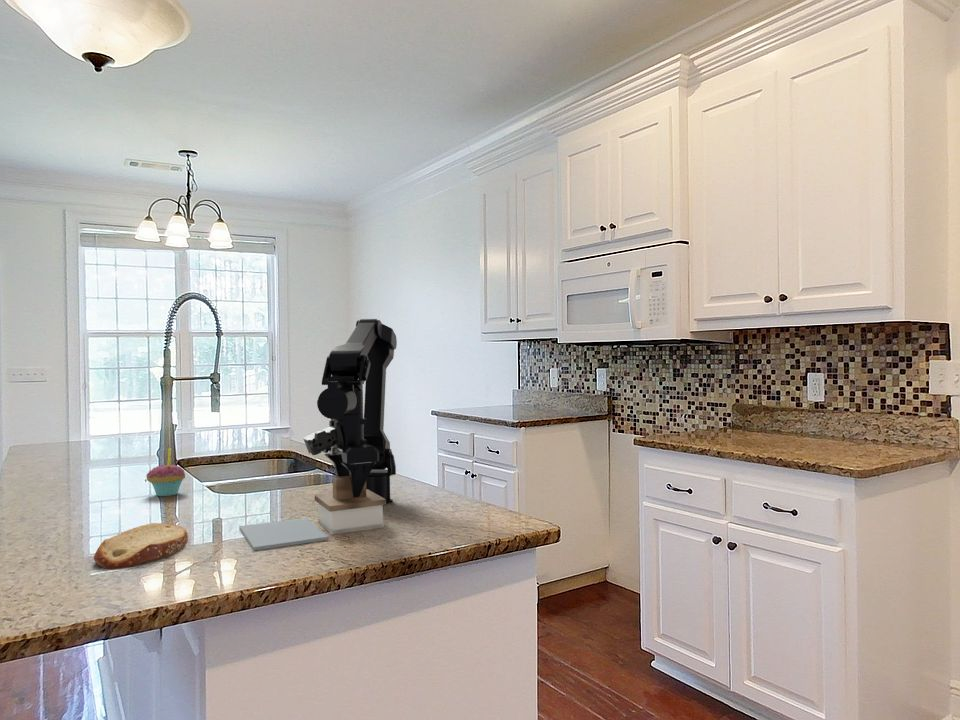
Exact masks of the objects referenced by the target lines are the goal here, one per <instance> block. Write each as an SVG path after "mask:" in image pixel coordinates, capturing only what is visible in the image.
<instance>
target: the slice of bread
mask: <svg viewBox="0 0 960 720" xmlns="http://www.w3.org/2000/svg"><path fill="white" fill-rule="evenodd" d="M188 541H189V536H188V531H187V530H186V528H183V527H182V526H180V525H176V524H171V523H170V524H169V523H163V522H159V523H157V522H151V523H147V524H144V525H143V524H142V525H139V526H136V527H133V528H131V529H130V528H129V529H127V530H125V531H122V532H121V533H118V534H117V535H113V536H112V537H110V538H105V539H104V540H102V542H100V544H99V546H98V548H97V549H96V552H95V553H94V555H93V561H94V562H95V564H97V565H98V566H99V567H101V568H103V569H104V570H118V569H126V568H132V567H133V568H134V567H136V566H139V565H142V564H146V563H151V562H154V561H158V560H161V559H164V558H166V557H167V558H168V557H169V556H171V555H173V554H175V553H176V552H178V551H180V550H181V549H183V548H184V545H187V543H188Z"/></svg>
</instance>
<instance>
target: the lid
mask: <svg viewBox="0 0 960 720" xmlns="http://www.w3.org/2000/svg"><path fill="white" fill-rule="evenodd" d="M314 501H315V502H316V503H317V504H318V503H319V504H320V505H322V506H323V507H324V508H326V509H327V510H328V511H338V510H347V509H355V508H363V507H371V506H379V505H383V506H385V505H387V503H386V499H384V498H383V497H381V496H379V495H377V494H375V493H374V492H372V491H370V490H368V489H366V482H365V485H364V487H363V489H362V492H361V494H360V496H359V497H353V493H352V488H351V481H350V476H341V477H337V476H333V477H332V492H330V493H322V494H315V495H314Z"/></svg>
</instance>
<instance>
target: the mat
mask: <svg viewBox="0 0 960 720" xmlns="http://www.w3.org/2000/svg"><path fill="white" fill-rule="evenodd" d="M238 527H239V531H240V532H241V534H242V535H243V537H244V538H245V540H246V541H247V543H248V545H250V547H251V549H252V550H253V552H254V551H261V550H267V549H273V548H274V549H275V548H282V547H289V546H296V545H302V544H303V545H304V544H309V543H316V542H322V541H329V535H327V534H326V533H325V532H324V531H323V530H321V529H320V528H319V527H318V525H316V524H315V523H313V522H312V521H311V519H309V518H308V517H301V518H293V519H286V520H285V519H284V520H278V521H269V522H263V523H253V524H246V525H239V526H238Z"/></svg>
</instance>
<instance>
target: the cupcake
mask: <svg viewBox="0 0 960 720" xmlns="http://www.w3.org/2000/svg"><path fill="white" fill-rule="evenodd" d="M171 446H172V445H169V448H168V450H167V464H163V465H158V466H155V467H154V468H153V467H152V469H150V470H149V471H148V472H147V473H146V476H145V477H146V481H147V482H148V483H151V485H152V487H153V490H154V493H155V495H156V496H158V497H169V496H170V497H171V496H174V495H177V494H179V490H180V487H181V485H182V482H183V480H184V479H186V473H185V470H184V469H183V468H182V467H181V466H179V465H176V464H171V460H172V459H171V457H172V447H171Z"/></svg>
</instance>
